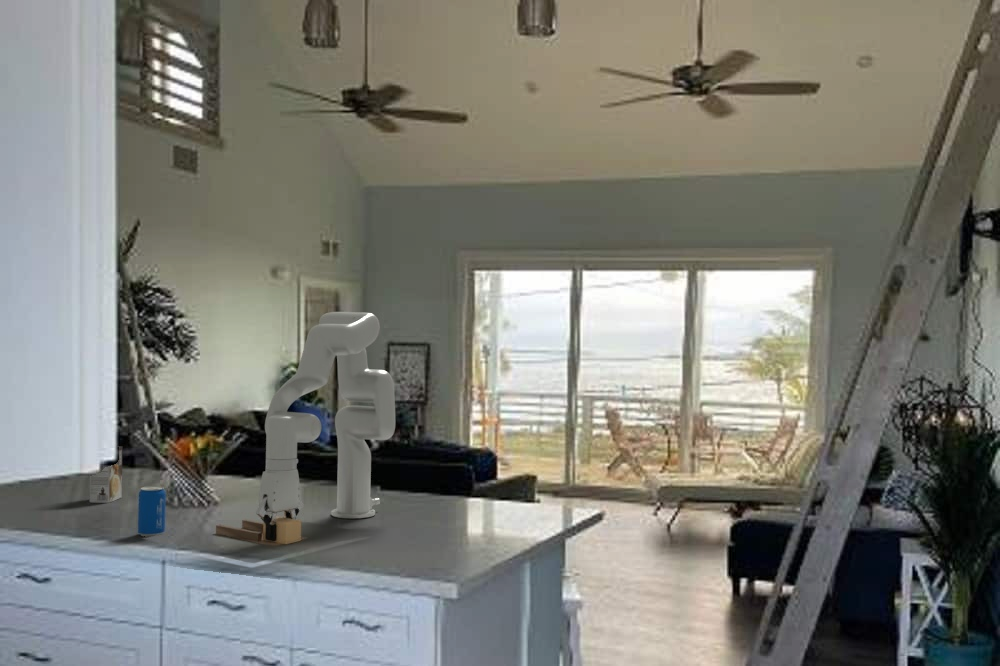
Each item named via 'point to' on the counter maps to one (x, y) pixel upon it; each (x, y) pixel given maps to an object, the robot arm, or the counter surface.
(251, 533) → the brown piece
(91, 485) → the coffee box
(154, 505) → the beverage can
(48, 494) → the counter surface
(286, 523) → the block
